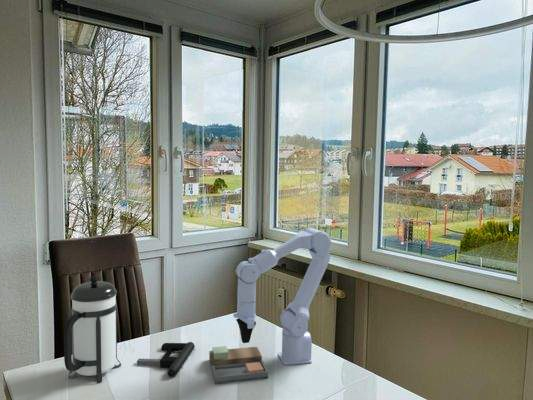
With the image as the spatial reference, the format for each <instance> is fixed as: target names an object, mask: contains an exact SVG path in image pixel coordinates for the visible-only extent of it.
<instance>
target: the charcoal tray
mask: <svg viewBox="0 0 533 400" xmlns="http://www.w3.org/2000/svg"><path fill="white" fill-rule="evenodd" d="M257 362H260V364H261V365H262V367H263V371H262V372H253V373H247V372H246V364H248V363H257ZM257 362H248V363H238V364H228V365H218V366H214V365H212V369H211V372H212V377H213V381H214V384H215V385H219V384H220V385H221V384H228V383H229V384H230V383H237V382H247V381H255V380H265V379H269V370H268V368H267V366H266V365H265V362H264V360H263V359H262V361H257Z"/></svg>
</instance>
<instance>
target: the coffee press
mask: <svg viewBox="0 0 533 400" xmlns="http://www.w3.org/2000/svg"><path fill="white" fill-rule="evenodd" d="M117 293H118V290H117V289H116V288H115V286H114V285H113V284H112V283H111V282H108V281H103V280H99V278H98V276H97V275H91V277H90V278H89V281H87V282H84V283H81V284H79V285H77V286H76V287H75V288H74V289H73V290H72V292H71V294H70V300H71V302H72V303H71V305H72V306H71V316H70V317H69V319H68V320H67V322H66V324H65V327H64V330H63V356H64V357H63V359H64V360H63V362H64V366H65V369H66V370H67V371H69V372H68V374H67V376H68V379H73V378H75V377H76V375H78V374H79V375H81V376H87V377H89V376H91V377H92V376H95V379H96V383H102V382H103V375H102V374H104V373H107V372H108V371H110V370H112V369H113V368H114V367H116V368H117V369H118V368H121V367H122V363H121V361H120V360H119V359H118V340H117V339H118V336H117V334H118V333H117V331H118V329H117V328H118V327H117V324H118V323H117V320H118V319H117V301H116V299H117V298H116V296H117ZM117 362H118V363H119V364H117ZM72 372H74V373H73V374H72ZM71 374H72V375H71Z"/></svg>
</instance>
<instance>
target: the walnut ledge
mask: <svg viewBox="0 0 533 400" xmlns="http://www.w3.org/2000/svg"><path fill="white" fill-rule="evenodd" d="M227 350H228V358H225V359H215V360H214V358H213V354H212V350H209V353H208V354H209V355H208V356H209V359H208V360H209V364H210V368H211V370H212V365H214V366H218V365H228V364H238V363H248V362H257V361H262V360H263V355H262V353H261V352H260V349H259V347H258V346H250V347H239V348H227Z"/></svg>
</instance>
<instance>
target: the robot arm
mask: <svg viewBox="0 0 533 400" xmlns="http://www.w3.org/2000/svg"><path fill="white" fill-rule="evenodd" d="M332 244H333V242H332V240H331V238H330V235H329V234H328V233H327V232H326V231H323V230H319V229H315V228H314V227H306V228H304V230H301V231H298V232H297V233H296V234H295V235H294V236H292V237H291V238H290V239H288V240H286V241H285V242H283V243H281V244H280V245H279V246H277V247H276V248H274V249H268V248H267V249H262V250H261V251H260V253H258V254H256V255H255V256H252V257H249V258H248V261H247V260H243V261H241V262H239V263H238V265H237V267H236V269H235V270H234V271H235V275H236V276H237V277H238V278H237V296H236V297H237V304H236V305H237V307H236V309H237V310H236V312H235V313H233V314H232V316H233V318H235V319H236V322H237V324H238V327H239V333H240V339H241V342H242V344H248V343H250V340H251V338H252V333H253V330H254V329H255V327H256V325H257V323H256V322H257V321H255V320H256V317H257V313H256V300H257V299H256V295H257V292H256V291H257V285H256V283H257V280H258V279H259V277H260V276H261V275H262V274H263V273H265V272H267V271H269V270H270V269H272V268H274V267H275V266H277V265H278V262H279V260H280V259H281V258H283V257H286V256H287V255H289V254H292V253H293V252H295V251H297V250H299V249H307V250H308V251H309V254H310V256H311V258H312V259H311V260H310V263H309V265H308V267H307V269H306V272H305V274H304V276H303V279H302V281H301V283H300V286H299V287H298V290H297V292H296V295H295V297H294V298H293V301H291V302H290V303H288V304H287V306H286V308H285V309H284V310H283V311H282V312H281V313H280V314H279V322H280V324H281V325H282V331H281V333H282V334H281V335H282V336H281V339H282V340H281V352H277V355H278V357H279V358H280V360H281V362H282V364H283V365H285V366H289V365H299V364H308V363H312V362H313V360H312V345H313V344H312V343H313V342H312V336H311V333H310V331H308V323H309V320H310V312H309V308H310V305H311V303H312V302H313V299H314V297H315V295H316V292H317V290H318V288H319V285H320V283H321V280H322V278H323V276H324V274H325V273H326V270H327V267H328V266H329V263H330V259H331V246H332Z"/></svg>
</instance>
